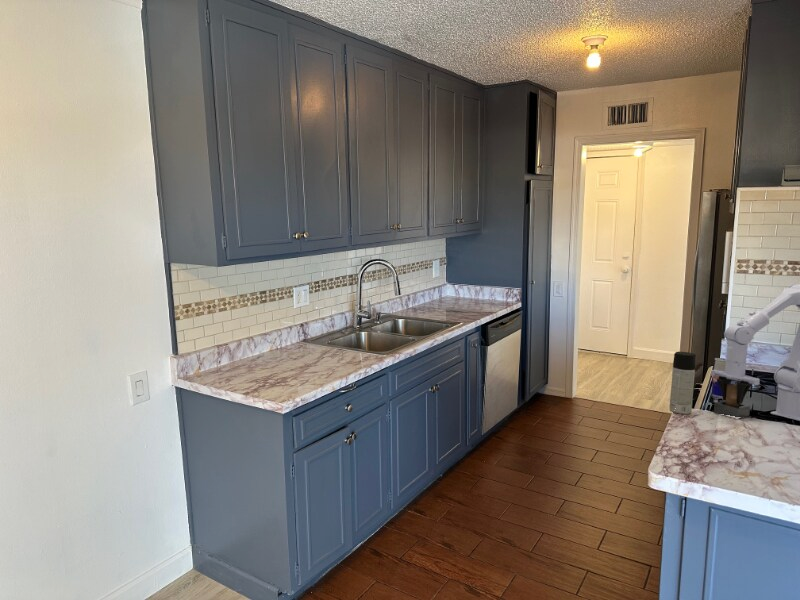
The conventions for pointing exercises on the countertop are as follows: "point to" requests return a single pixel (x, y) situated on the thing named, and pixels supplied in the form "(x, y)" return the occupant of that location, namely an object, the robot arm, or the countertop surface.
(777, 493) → the countertop surface
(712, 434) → the countertop surface
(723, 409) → the socket
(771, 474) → the countertop surface
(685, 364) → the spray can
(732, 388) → the peg
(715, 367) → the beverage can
